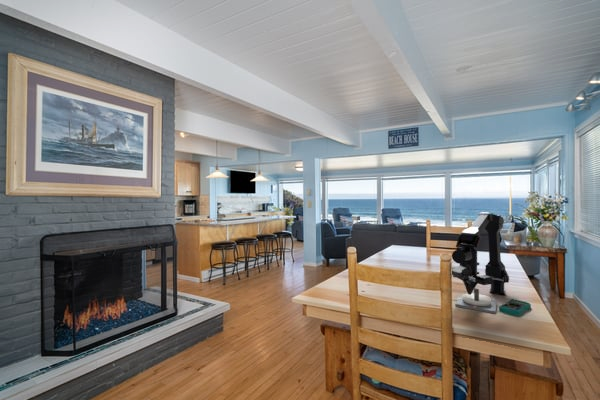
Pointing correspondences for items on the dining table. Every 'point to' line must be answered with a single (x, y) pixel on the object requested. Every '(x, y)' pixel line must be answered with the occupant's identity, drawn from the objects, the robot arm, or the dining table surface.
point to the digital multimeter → (515, 307)
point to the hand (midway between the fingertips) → (469, 294)
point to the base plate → (489, 308)
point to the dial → (476, 298)
